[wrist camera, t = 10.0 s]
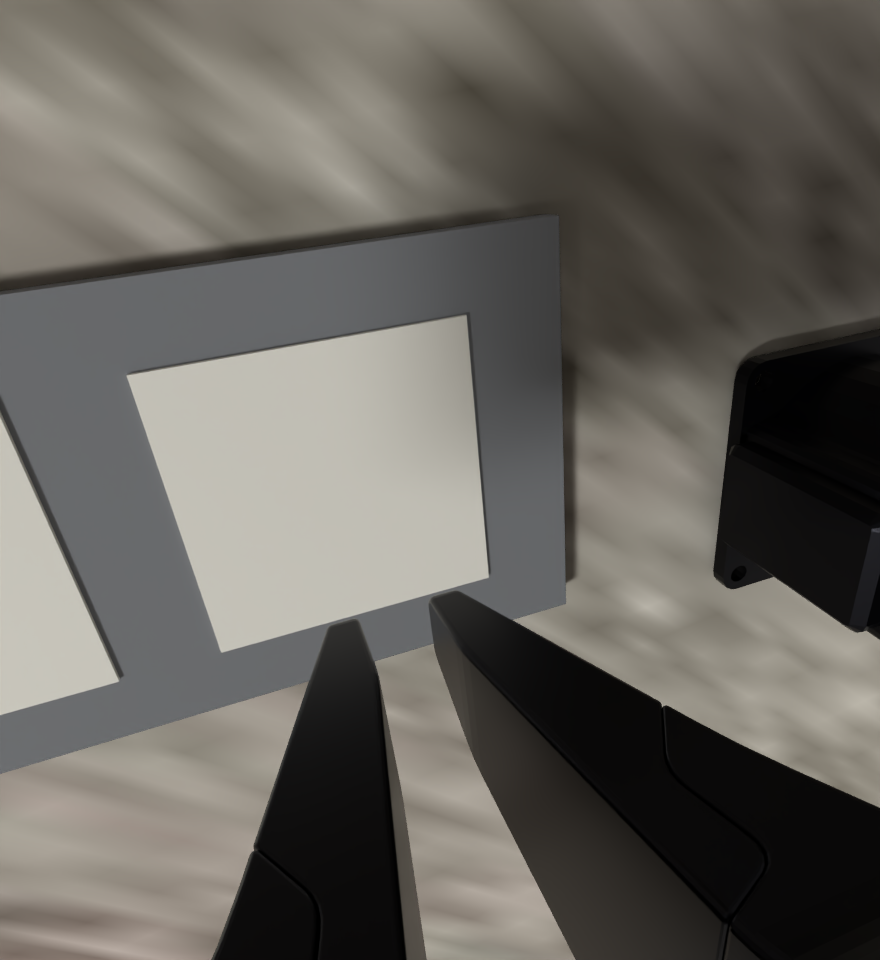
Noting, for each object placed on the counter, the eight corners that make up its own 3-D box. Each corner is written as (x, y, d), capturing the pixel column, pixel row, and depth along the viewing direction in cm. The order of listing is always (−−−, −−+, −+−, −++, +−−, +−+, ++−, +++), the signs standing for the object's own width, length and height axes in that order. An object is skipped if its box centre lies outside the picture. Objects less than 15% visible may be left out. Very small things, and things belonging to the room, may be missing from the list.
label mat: (544, 214, 12) (561, 215, 11) (555, 590, 16) (567, 606, 15) (-736, 396, 8) (-815, 412, 7) (-293, 839, 12) (-320, 874, 11)
